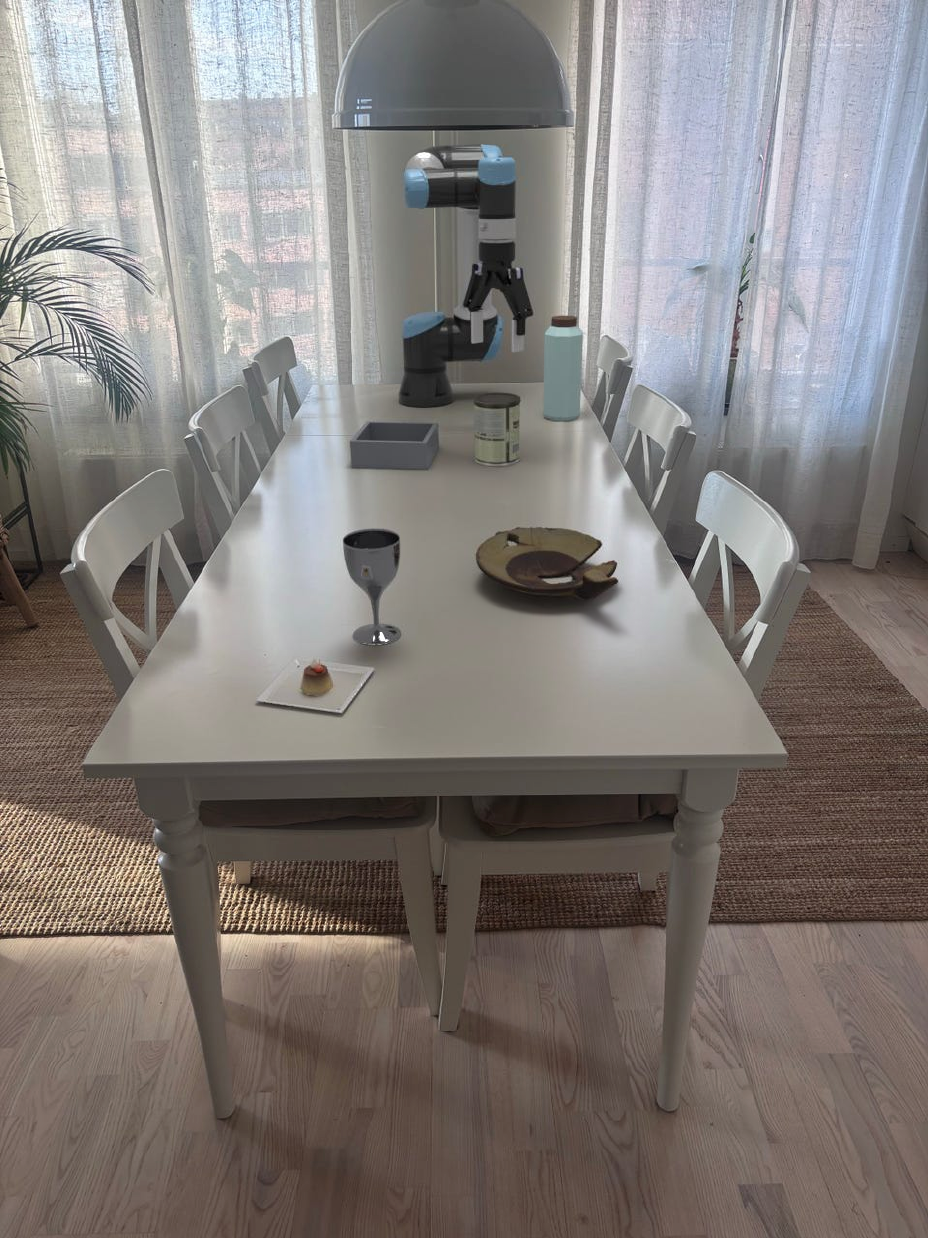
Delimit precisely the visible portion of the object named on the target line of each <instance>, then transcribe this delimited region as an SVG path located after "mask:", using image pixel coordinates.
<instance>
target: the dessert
mask: <svg viewBox="0 0 928 1238" xmlns="http://www.w3.org/2000/svg"><path fill="white" fill-rule="evenodd" d="M298 664H300V665H302V666H303V665H304V666H307V667H304V669H303V674H302V678H301V683H300V687H299V690H300V689H301V690H302V692H303V693H305V694H309V695H318V696H317V697H319V695H321V696H323V695H322V694H325V693H327V692H329V691H330V690H331V689H332V688H333V686H334V687H335V684H334V685H333V683H334V681H333V680H332V676H331V673H330V670H328V669H327V668H331V669H333V668H336V669H340V668H341V669H343V670H344V669H346V670H347V669H348V670H354V669H356V670H360V669H361V670H364V671H368V672H367V674H366V675H365V676H364V677H363V678H364V679H363V680H362V681H361V682H360V684H359V685H358V686H357V688H356V689H355V690H354V691H353V692H352V693H351V695H350V696H349V697H348V698H347V697H346V698H347V700H346V701H345V702H344V701H343V702H344V703H343V702H342V703H343V705H342V706H341V705H340V706H341V707H340V706H339V707H340V708H341V709H340V710H338V709H330V708H322V707H317V706H316V707H315V706H308V705H301V704H294V703H289V704H288V702H280V701H273V700H269V701H267V700H266V699H267V698H268V696H269V695H270V694H271V692H272V690H273V689H274V688H275V687H276V686H277V684H278V683H280V681H282V679H283V678H286V677H287V675H289V673H291V671H292V669H293V670H294V668H295V667H296V666H298ZM375 669H376V667H370V666H363V665H362V666H361V665H354V664H348V663H339V662H331V661H325V660H324V661H323V660H321V659H317V658H313V659H307V658H300V657H293V658H292V659H291V660H290V661H289V663H288V664H287V665H286V666H285V667H284V668H283V669H282V670H281V672H280V673H279V674H278V675H277V676H276V677H275V678H274V679H273V680H272V681H271V683H270V684H269V685H268V686H267V687H266V688H265V689H264V691H262V692H261V694H260V695H258V697H257V698H256V699H255V702H258V703H264V702H265V704H271V703H272V705H278V704H279V705H280V706H285V705H286V706H287V707H292V706H293V707H292V708H300V709H307V710H316V711H320V712H321V711H323V712H330V713H335V714H343V713H344V711H345V710H346V709H347V707H348V706H349V704H350V703H351V702H352V701H353V699H354V698H355V696H356V695H357V694H358V692H359V691H360V690H361V688H362V687H363V686H364V684H365V683H366V682H367V680H368V679H369V678H370V676H371V675H372V673H373V672H374V671H375ZM302 692H301V693H302ZM303 693H302V694H303ZM329 693H330V692H329ZM305 694H304V695H305ZM327 694H328V693H327ZM309 695H308V696H309ZM325 695H326V694H325ZM286 706H285V707H286Z"/></svg>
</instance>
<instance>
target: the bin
mask: <svg viewBox="0 0 928 1238" xmlns="http://www.w3.org/2000/svg"><path fill="white" fill-rule="evenodd" d="M439 434H440V433H439V422H422V421H421V422H420V421H419V422H418V421H415V422H414V421H371V420H370V421H369V420H366V421H365V422H364V423H363V425H362V426H361V428H360V429H358V431H357V432H356V433H355V435H354V436H353V437H352V438H351V439H350V440H349V451H350V463H351V465H350V466H351V469H380V470H381V469H385V470H387V469H388V470H420V471H422V470H424V471H425V470H428V469H429V467H430V465H431V463H432V462H433V460H434V458H435V456H436V455H437V452H438V450H440V449H439V448H440V440H439V439H440V438H439V437H440V435H439Z"/></svg>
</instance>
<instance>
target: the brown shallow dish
mask: <svg viewBox="0 0 928 1238" xmlns="http://www.w3.org/2000/svg"><path fill="white" fill-rule="evenodd" d="M508 542H511V543H514V544H516V545H509V543H508ZM602 546H603V543H602V541H601V540H599V539H597V538H595V537H594V536H592V535H590V534H586V533H582V532H581V531H580V532H579V531H578V530H572V529H569V528H561V527H560V528H559V527H557V528H556V527H555V528H554V527H542V526H539V527H538V526H536V527H533V526H531V527H520V526H517V527H515V528H514V529H513V528H512V529H510V530H504V531H497V532H495V534H494V535H493V536H491V537H489V538H488V539H486V540H485V541H483V542H482V543H481V544H480V545H479V547H478V548H477V549H476V554H475V561H476V564H477V568H478V569H479V570H480V571H481V572H482V573H483V574H484V576H486V577H487V578H488V579H490V580H491V581H492V582H494V583H496V584H498V585H500V586H502V587H506V588H508V589H511V590H514V591H517V592H520V593H521V592H522V593H526V594H529V595H530V594H531V595H537V596H553V597H554V596H560V597H561V596H575V597H577V598H579V599H580V600H583V601H593V600H594V599H596V598H597V597H599V596H600V595H602V594H603V593H605V592H606V591H608V590H610V589H612V588H613V587H614V586H615V585H617V584H618V583H619V580H618V578H617V577H615V576H613V575H614V574H615V571H616V570H617V567H618V562H617V561H616V560H614V559H613V560H610V561H609V560H608V561H606V562H604V561H603V562H602V563H600V564H597V565H593V566H590V567H586V568H582V569H579V567H581V566H583V565H584V564H585V563H586V562H587V561H588V560H589V559H590V558H591V557H593V555H595V554H596V553H597V552H598V551H599V550H600V549H601V547H602ZM578 569H579V570H578ZM569 574H570V576H571V578H572V580H570V581H567V582H558V583H549V582H547V581H545V580H544V579H543V578H544V577H545V578H546V577H549V578H551V577H553V578H554V577H562V576H564V575H569ZM541 577H543V578H541Z"/></svg>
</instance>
